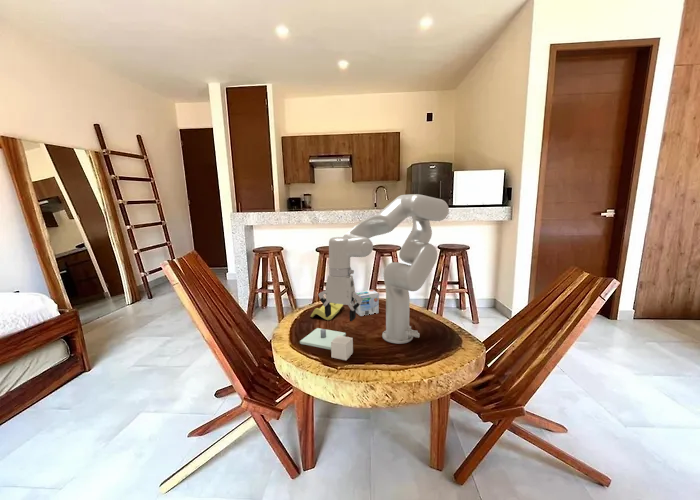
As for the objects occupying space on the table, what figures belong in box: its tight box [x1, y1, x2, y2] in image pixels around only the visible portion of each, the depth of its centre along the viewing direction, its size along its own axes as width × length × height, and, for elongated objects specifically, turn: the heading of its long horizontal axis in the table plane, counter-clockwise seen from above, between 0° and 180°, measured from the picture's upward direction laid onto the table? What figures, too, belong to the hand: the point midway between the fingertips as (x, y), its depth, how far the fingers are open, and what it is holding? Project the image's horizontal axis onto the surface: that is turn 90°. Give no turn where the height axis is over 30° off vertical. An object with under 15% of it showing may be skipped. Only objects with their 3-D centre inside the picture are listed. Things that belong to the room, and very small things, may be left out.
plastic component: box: [310, 303, 344, 321], centre depth 156 cm, size 20×7×10 cm
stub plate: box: [299, 327, 347, 351], centre depth 126 cm, size 14×14×4 cm
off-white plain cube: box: [330, 335, 354, 361], centre depth 113 cm, size 6×6×6 cm
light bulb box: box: [354, 289, 380, 317], centre depth 155 cm, size 11×7×11 cm, turn 114°
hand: (340, 318), depth 111 cm, fingers open, 9 cm apart
